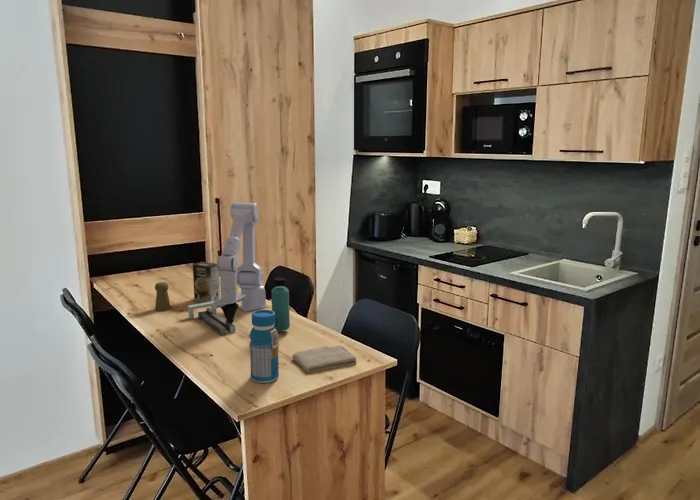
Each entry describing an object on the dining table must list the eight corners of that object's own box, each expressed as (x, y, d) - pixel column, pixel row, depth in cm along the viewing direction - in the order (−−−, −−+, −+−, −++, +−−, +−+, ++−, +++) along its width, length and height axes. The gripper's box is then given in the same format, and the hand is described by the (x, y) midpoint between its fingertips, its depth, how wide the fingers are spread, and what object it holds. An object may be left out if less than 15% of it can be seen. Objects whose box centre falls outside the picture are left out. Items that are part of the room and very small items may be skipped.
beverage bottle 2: (293, 329, 195) (292, 277, 190) (285, 336, 189) (284, 281, 184) (276, 327, 197) (276, 275, 192) (268, 333, 191) (267, 279, 186)
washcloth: (359, 364, 167) (359, 355, 167) (306, 375, 159) (306, 366, 158) (341, 350, 178) (341, 342, 177) (291, 360, 169) (291, 351, 169)
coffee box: (193, 301, 226) (191, 264, 223) (203, 297, 232) (201, 261, 228) (211, 303, 223) (209, 266, 219) (220, 299, 229) (219, 263, 225)
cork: (165, 311, 212) (164, 285, 210) (152, 310, 213) (150, 284, 211) (173, 307, 218) (172, 281, 215) (160, 306, 219) (158, 280, 217)
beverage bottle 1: (254, 386, 151) (252, 319, 147) (247, 374, 158) (245, 310, 154) (283, 381, 154) (282, 315, 150) (274, 369, 162) (273, 306, 158)
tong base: (210, 316, 208) (210, 310, 207) (233, 332, 191) (233, 326, 190) (198, 318, 205) (197, 312, 204) (220, 335, 188) (220, 329, 187)
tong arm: (210, 316, 208) (210, 307, 207) (235, 332, 191) (235, 323, 191) (205, 317, 207) (205, 308, 206) (230, 333, 190) (229, 324, 189)
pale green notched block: (214, 312, 212) (213, 301, 211) (216, 314, 210) (216, 302, 209) (188, 317, 206) (187, 305, 205) (190, 319, 204) (190, 307, 203)
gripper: (237, 281, 202) (238, 315, 204) (205, 289, 191) (206, 325, 193) (249, 285, 197) (250, 319, 200) (217, 293, 186) (219, 330, 189)
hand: (229, 323), depth 196 cm, fingers closed
